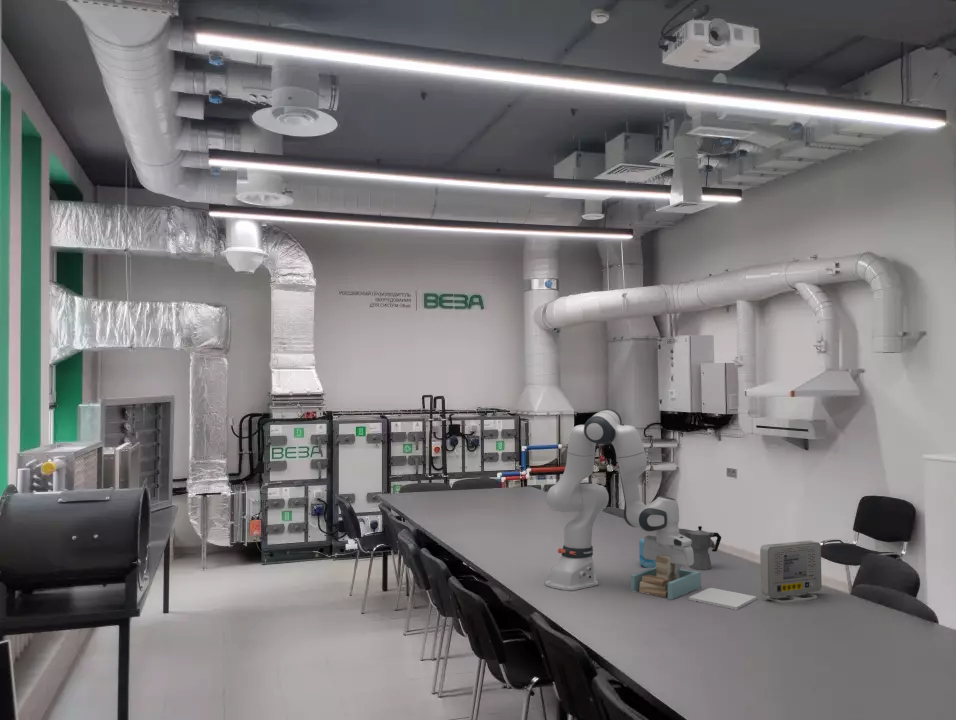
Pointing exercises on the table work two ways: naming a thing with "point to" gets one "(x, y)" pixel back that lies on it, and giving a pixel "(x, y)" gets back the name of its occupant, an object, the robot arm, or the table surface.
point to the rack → (672, 582)
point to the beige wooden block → (665, 568)
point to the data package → (643, 561)
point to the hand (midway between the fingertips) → (668, 574)
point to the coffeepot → (702, 547)
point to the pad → (723, 598)
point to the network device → (790, 570)
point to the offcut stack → (654, 585)
